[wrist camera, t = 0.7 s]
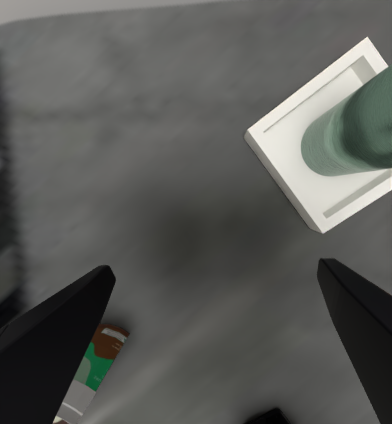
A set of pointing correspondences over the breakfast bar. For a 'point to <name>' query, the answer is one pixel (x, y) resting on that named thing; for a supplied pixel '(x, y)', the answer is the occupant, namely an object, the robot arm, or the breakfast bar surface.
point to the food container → (91, 372)
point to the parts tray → (292, 136)
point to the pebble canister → (353, 132)
